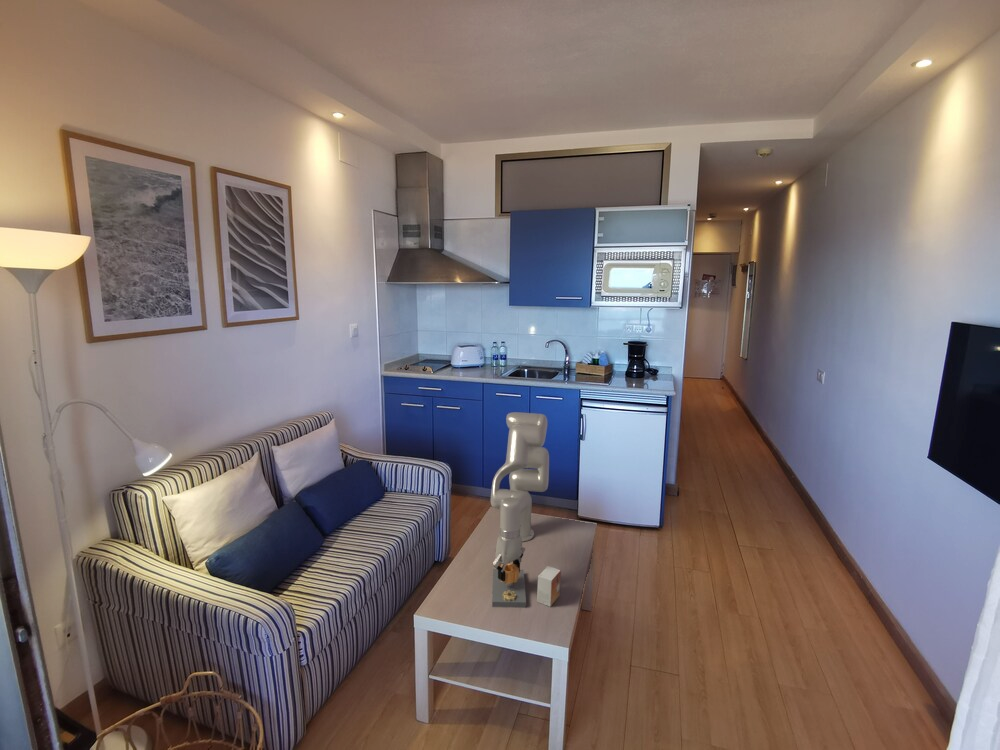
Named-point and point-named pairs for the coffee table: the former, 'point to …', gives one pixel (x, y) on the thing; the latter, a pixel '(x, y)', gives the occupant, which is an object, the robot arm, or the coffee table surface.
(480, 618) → the coffee table surface
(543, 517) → the coffee table surface
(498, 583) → the board
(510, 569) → the gear
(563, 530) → the coffee table surface
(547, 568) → the small box
